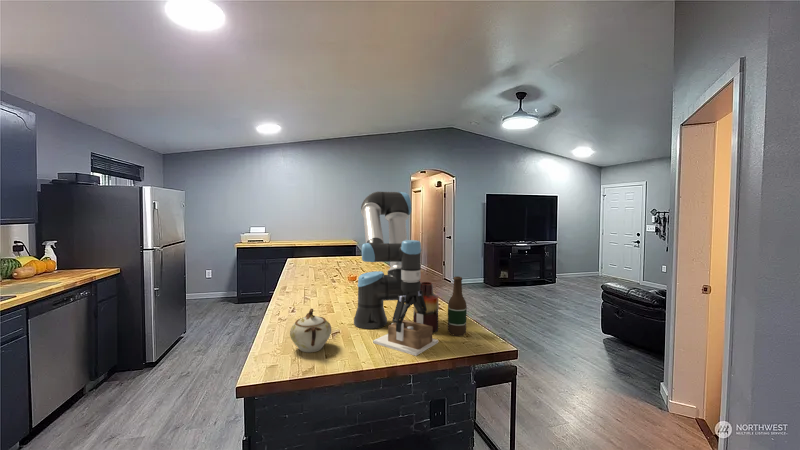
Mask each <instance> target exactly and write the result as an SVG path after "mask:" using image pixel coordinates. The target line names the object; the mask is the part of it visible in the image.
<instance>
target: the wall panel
mask: <svg viewBox="0 0 800 450" xmlns="http://www.w3.org/2000/svg"><path fill="white" fill-rule="evenodd" d="M394 323H395V322H392V323H391V324H394ZM407 329H411V330H413V327H412V326H408V327H407ZM372 342H373V344H375V345H379V346H382V347H384V348H389V349H392V350H395V351H398V352H402V353H404V354H409V355H412V356H415V357H417V356H418V355H419V354H421V353H422V354H423V352H425V351H427V350H428V349H429V348H431V347H433V346H435V345H437V344H438V343H439V339H437V338H433V337H432V342H431V343H429V344H427V345H426V346H424V347H422V348H421V349H419V350H417V349H414V348H410V347H407V346H403V345H400V344H397V343H393V342H390V341H388V333H386V334H384V335H381V336H380V337H378V338H375V339H374V340H373V339H372Z"/></svg>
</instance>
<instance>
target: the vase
mask: <svg viewBox="0 0 800 450" xmlns="http://www.w3.org/2000/svg"><path fill="white" fill-rule="evenodd" d="M420 282H421V289H420V290H422V291H423V298H424V301H425V305H426V308H427V311H425V312H426V314H423V324H425V325H429V326H433V332H432V334H434V333H437V332H438V331H439V296H438V295H437V294H435V293H434V284H433V282H430V281H420ZM422 308H423V307H422ZM417 313H418V312H417V310H416V308H415V306H414V305H413V315H412V316H413V321H412V322H416V318H417ZM418 314H419V313H418Z"/></svg>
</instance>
